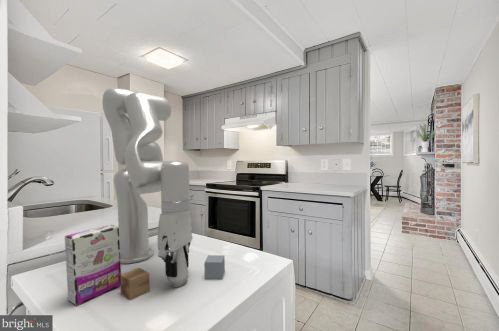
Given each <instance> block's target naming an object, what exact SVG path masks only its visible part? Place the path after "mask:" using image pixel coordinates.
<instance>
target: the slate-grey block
mask: <svg viewBox="0 0 499 331" xmlns="http://www.w3.org/2000/svg"><path fill="white" fill-rule="evenodd" d="M225 259H226V258H225V255H223V254H222V255H219V254H218V255H216V254H215V255H210V254H209V255H207V257H206V259H205V261H204V265H203V266H204V280H213V281H214V280H215V281H216V280H223V279H224V275H225V272H226V270H225V269H226V268H225V267H226V266H225V264H226V263H225V262H226V261H225Z"/></svg>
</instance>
